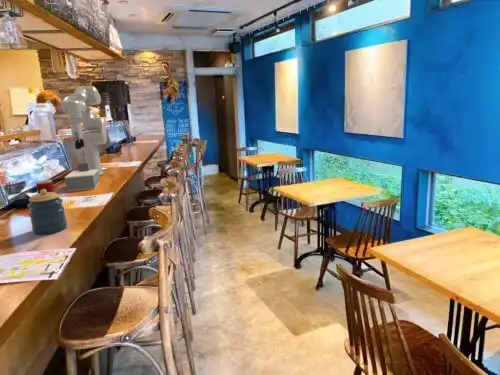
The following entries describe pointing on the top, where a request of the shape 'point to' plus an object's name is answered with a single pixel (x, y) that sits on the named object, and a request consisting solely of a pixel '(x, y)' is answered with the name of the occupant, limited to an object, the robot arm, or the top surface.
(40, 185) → the canned food
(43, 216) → the canister
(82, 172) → the sliding lid
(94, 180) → the grey box
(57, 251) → the top surface
